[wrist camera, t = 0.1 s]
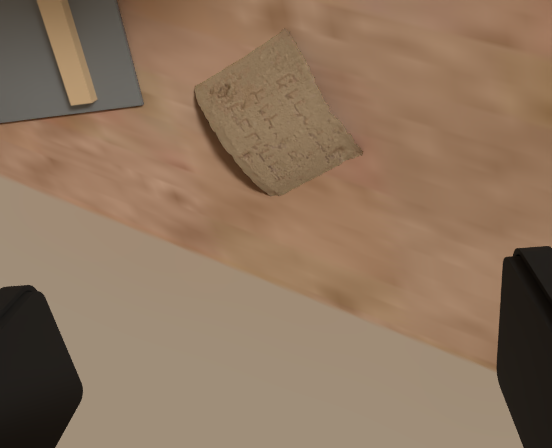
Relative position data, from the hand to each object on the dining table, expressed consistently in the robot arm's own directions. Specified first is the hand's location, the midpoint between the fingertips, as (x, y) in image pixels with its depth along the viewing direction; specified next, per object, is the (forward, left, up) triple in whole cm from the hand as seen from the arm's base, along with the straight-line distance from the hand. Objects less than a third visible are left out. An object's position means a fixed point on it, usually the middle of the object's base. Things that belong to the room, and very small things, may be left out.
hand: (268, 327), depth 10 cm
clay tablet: (+6, -4, -38) cm, 38 cm away
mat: (-6, -24, -37) cm, 44 cm away
